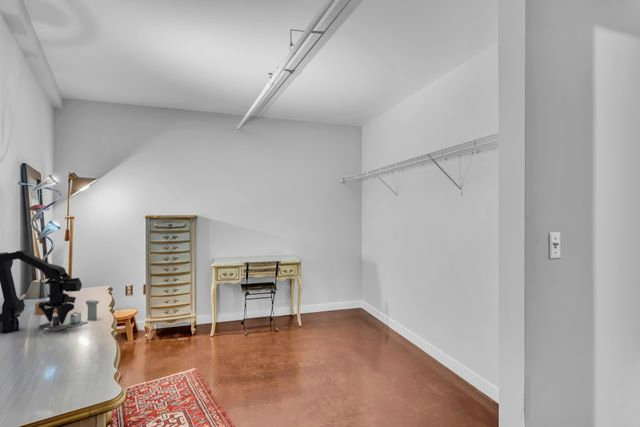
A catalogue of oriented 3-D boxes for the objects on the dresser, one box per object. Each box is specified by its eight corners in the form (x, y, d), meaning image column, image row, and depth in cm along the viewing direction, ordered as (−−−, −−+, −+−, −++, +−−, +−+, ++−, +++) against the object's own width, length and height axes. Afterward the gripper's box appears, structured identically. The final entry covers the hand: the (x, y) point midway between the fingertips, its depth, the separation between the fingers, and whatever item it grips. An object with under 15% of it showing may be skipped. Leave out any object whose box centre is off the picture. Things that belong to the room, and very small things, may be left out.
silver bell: (73, 325, 176) (73, 314, 176) (67, 324, 178) (67, 313, 178) (82, 322, 181) (83, 311, 181) (76, 321, 183) (76, 310, 183)
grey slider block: (45, 332, 164) (45, 320, 164) (40, 331, 165) (40, 319, 165) (62, 327, 171) (63, 316, 171) (57, 326, 172) (57, 315, 172)
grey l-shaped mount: (72, 327, 174) (72, 307, 174) (62, 325, 177) (62, 306, 177) (99, 319, 188) (99, 300, 188) (90, 318, 191) (90, 299, 191)
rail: (55, 333, 166) (55, 328, 166) (38, 329, 171) (38, 325, 171) (66, 329, 171) (66, 325, 171) (49, 326, 176) (49, 322, 176)
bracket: (41, 316, 194) (41, 304, 194) (31, 315, 196) (31, 303, 196) (73, 308, 211) (73, 297, 211) (64, 307, 213) (64, 296, 213)
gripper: (84, 290, 175) (84, 320, 174) (61, 287, 181) (61, 316, 181) (61, 295, 164) (61, 326, 164) (38, 291, 171) (37, 322, 171)
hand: (56, 322), depth 170 cm, fingers open, 9 cm apart
